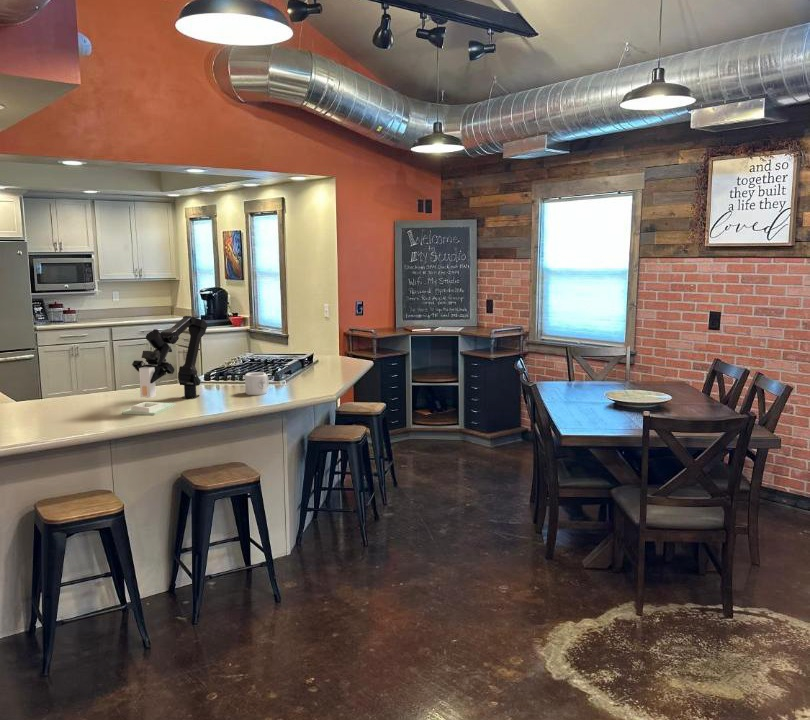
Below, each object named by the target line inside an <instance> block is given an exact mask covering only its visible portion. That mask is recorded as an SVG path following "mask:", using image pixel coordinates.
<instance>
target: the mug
mask: <svg viewBox="0 0 810 720" xmlns="http://www.w3.org/2000/svg"><path fill="white" fill-rule="evenodd" d="M244 387H245V389H244V390H245V391H244V392H245V394H246V395H248V396H262V395H266V394H267V393H268V387H269V375H267V373H265V372H261V371H260V372H259V371H256V372H247V373H246V374H244Z"/></svg>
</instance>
